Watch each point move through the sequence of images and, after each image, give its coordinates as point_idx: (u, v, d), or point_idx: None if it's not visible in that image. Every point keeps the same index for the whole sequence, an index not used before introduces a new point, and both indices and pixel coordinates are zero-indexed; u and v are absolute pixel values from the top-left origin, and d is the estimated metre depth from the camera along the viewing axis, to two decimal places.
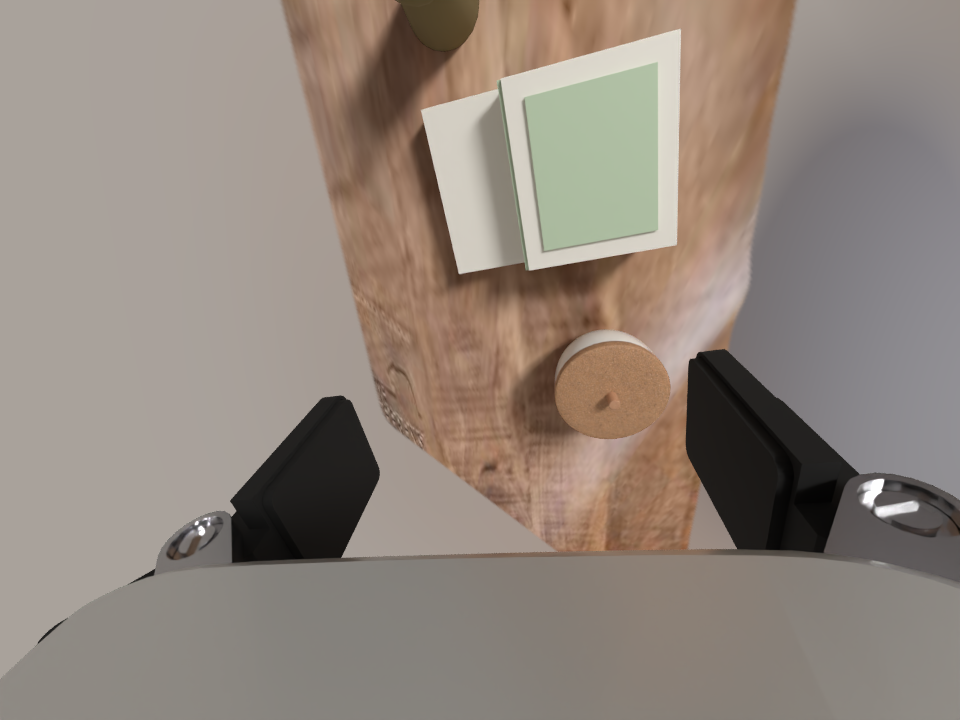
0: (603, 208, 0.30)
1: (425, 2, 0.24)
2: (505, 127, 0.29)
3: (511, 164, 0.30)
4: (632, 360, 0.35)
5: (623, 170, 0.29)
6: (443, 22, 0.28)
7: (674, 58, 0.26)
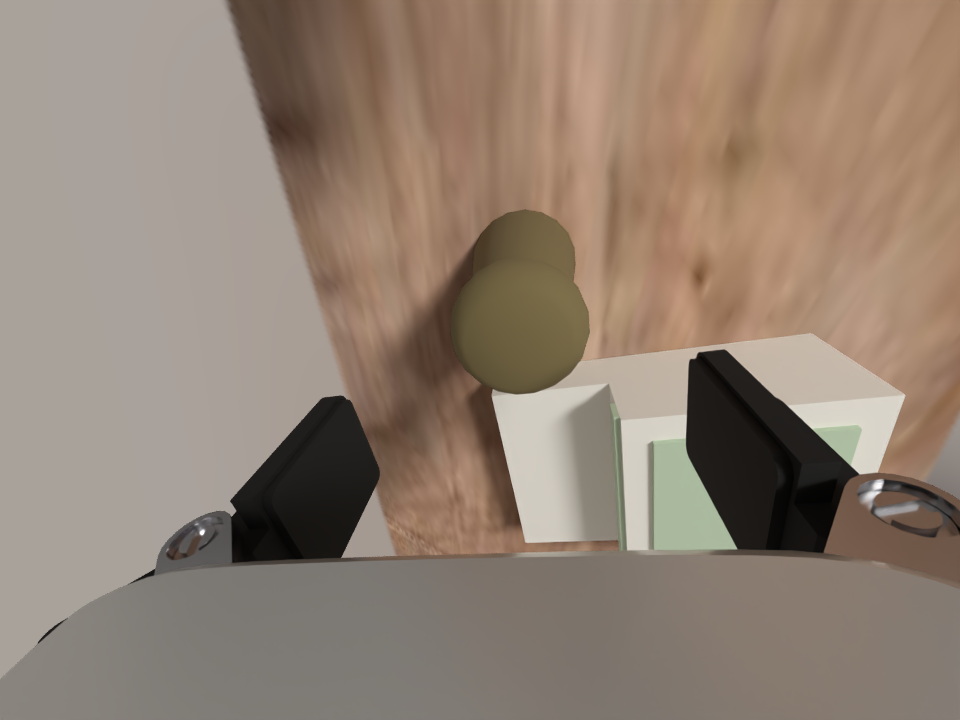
0: None
1: None
2: (618, 460, 0.21)
3: (620, 493, 0.22)
4: None
5: None
6: None
7: (886, 423, 0.18)
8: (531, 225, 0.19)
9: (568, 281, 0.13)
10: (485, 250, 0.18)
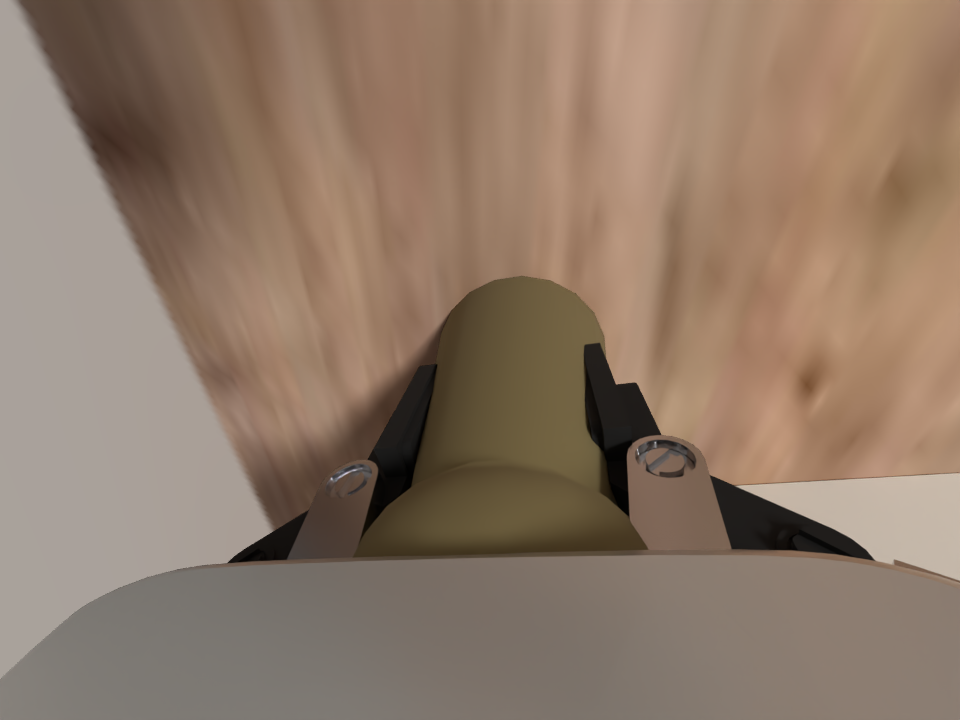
0: None
1: None
2: None
3: None
4: None
5: None
6: None
7: None
8: (533, 316, 0.10)
9: None
10: (448, 366, 0.10)
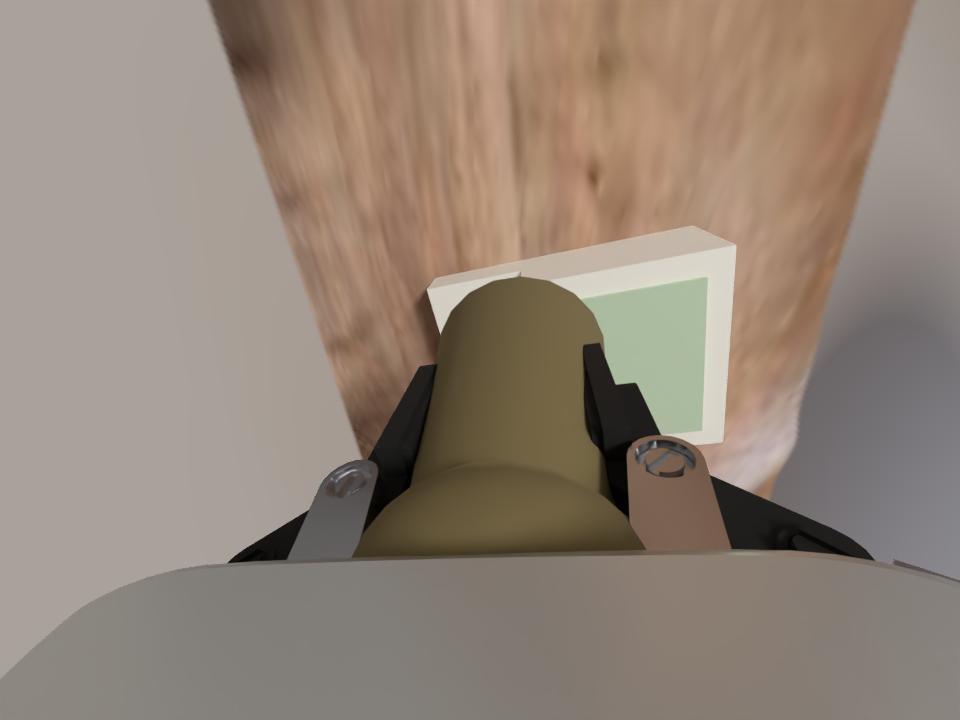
0: None
1: None
2: None
3: None
4: None
5: (664, 375, 0.25)
6: None
7: (727, 273, 0.22)
8: (532, 317, 0.10)
9: None
10: (447, 367, 0.10)
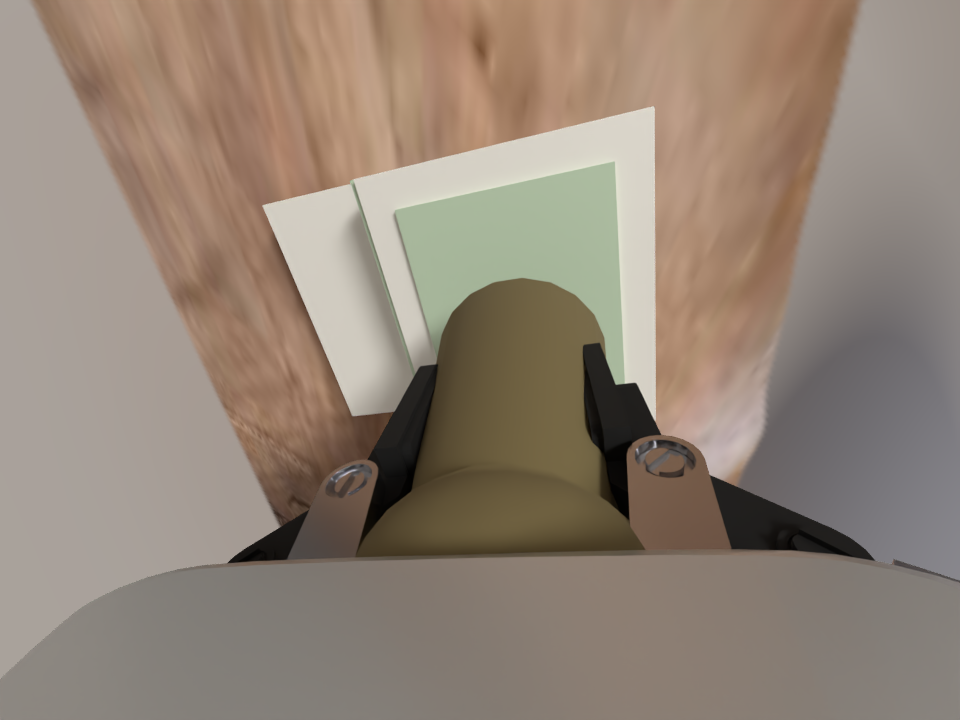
0: None
1: None
2: (374, 249, 0.18)
3: (391, 301, 0.19)
4: None
5: None
6: None
7: (644, 155, 0.14)
8: (533, 318, 0.10)
9: None
10: (448, 369, 0.10)
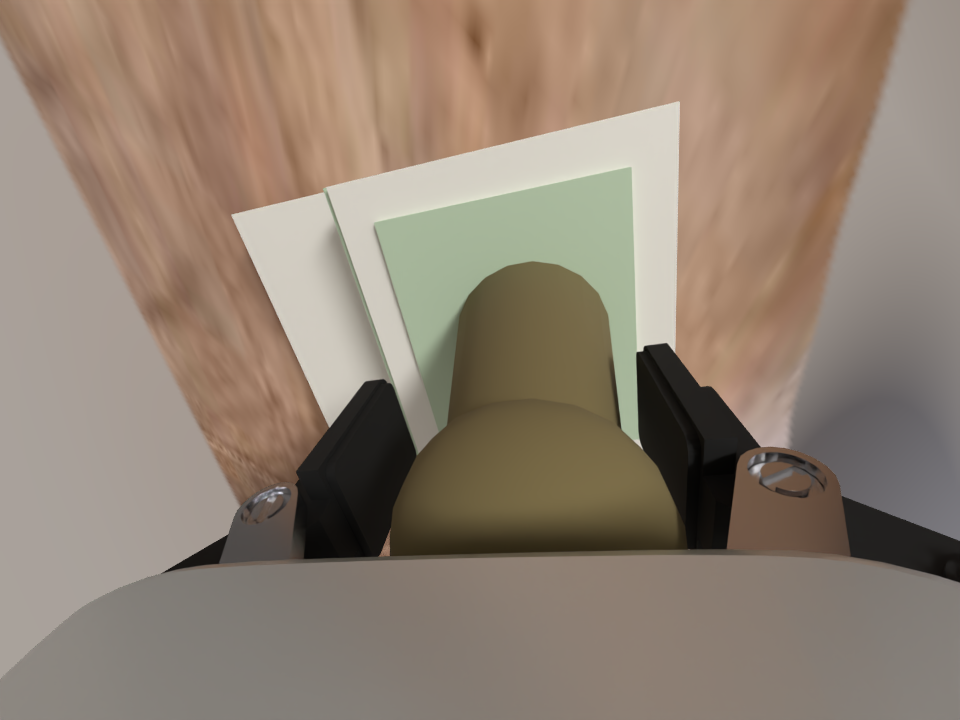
0: None
1: None
2: (353, 266, 0.15)
3: (373, 324, 0.17)
4: None
5: None
6: None
7: (666, 159, 0.12)
8: (545, 293, 0.12)
9: (644, 475, 0.06)
10: (470, 338, 0.11)
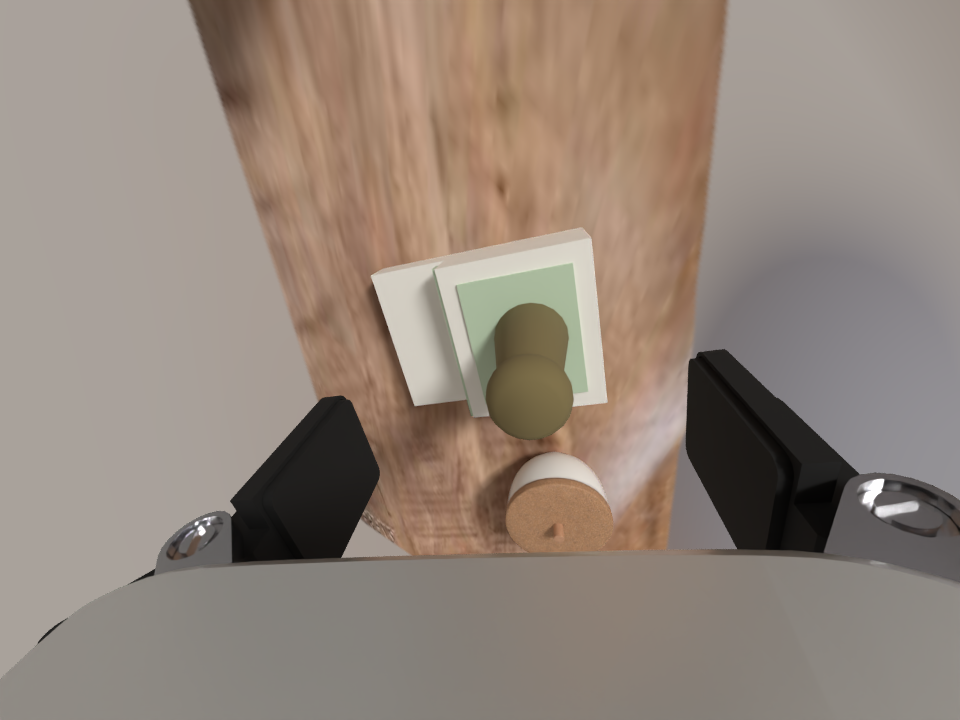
0: None
1: None
2: (442, 304, 0.31)
3: (450, 333, 0.32)
4: (574, 498, 0.36)
5: None
6: None
7: (588, 259, 0.28)
8: (535, 318, 0.27)
9: (558, 370, 0.21)
10: (504, 337, 0.27)
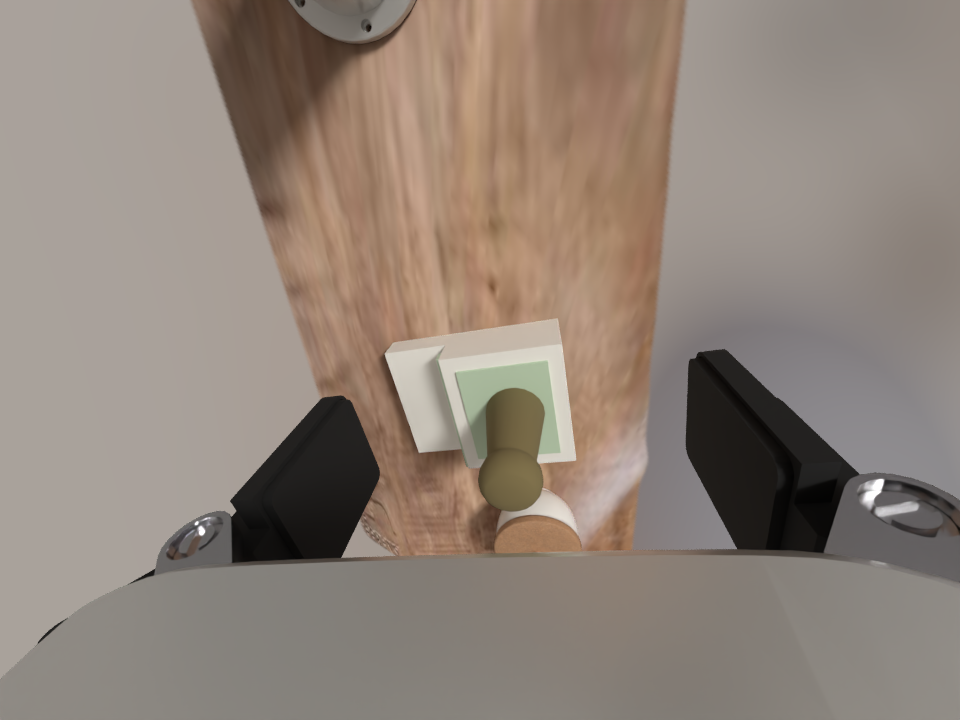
0: None
1: None
2: (444, 384, 0.39)
3: (450, 405, 0.40)
4: (550, 532, 0.45)
5: None
6: None
7: (559, 358, 0.36)
8: (517, 406, 0.35)
9: (531, 465, 0.29)
10: (493, 422, 0.35)
